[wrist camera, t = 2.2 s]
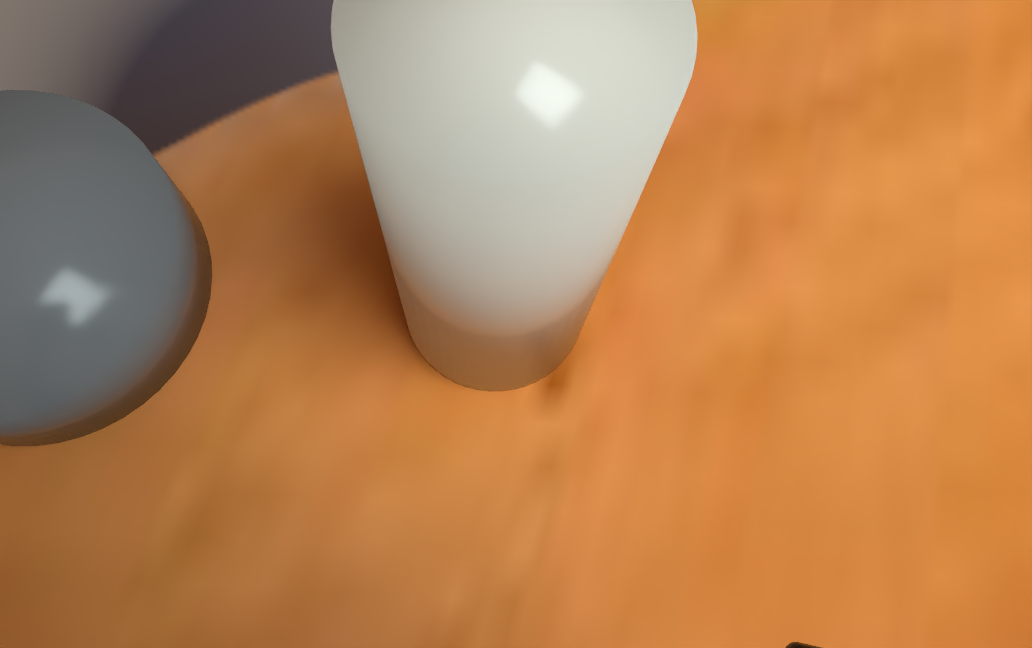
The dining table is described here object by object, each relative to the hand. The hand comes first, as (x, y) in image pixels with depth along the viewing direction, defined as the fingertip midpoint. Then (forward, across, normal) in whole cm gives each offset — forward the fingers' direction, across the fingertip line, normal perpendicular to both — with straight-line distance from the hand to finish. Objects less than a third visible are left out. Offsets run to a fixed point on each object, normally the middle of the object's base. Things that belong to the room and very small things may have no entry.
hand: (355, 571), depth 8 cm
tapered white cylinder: (+15, 0, +4) cm, 15 cm away
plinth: (+13, +12, +6) cm, 19 cm away
